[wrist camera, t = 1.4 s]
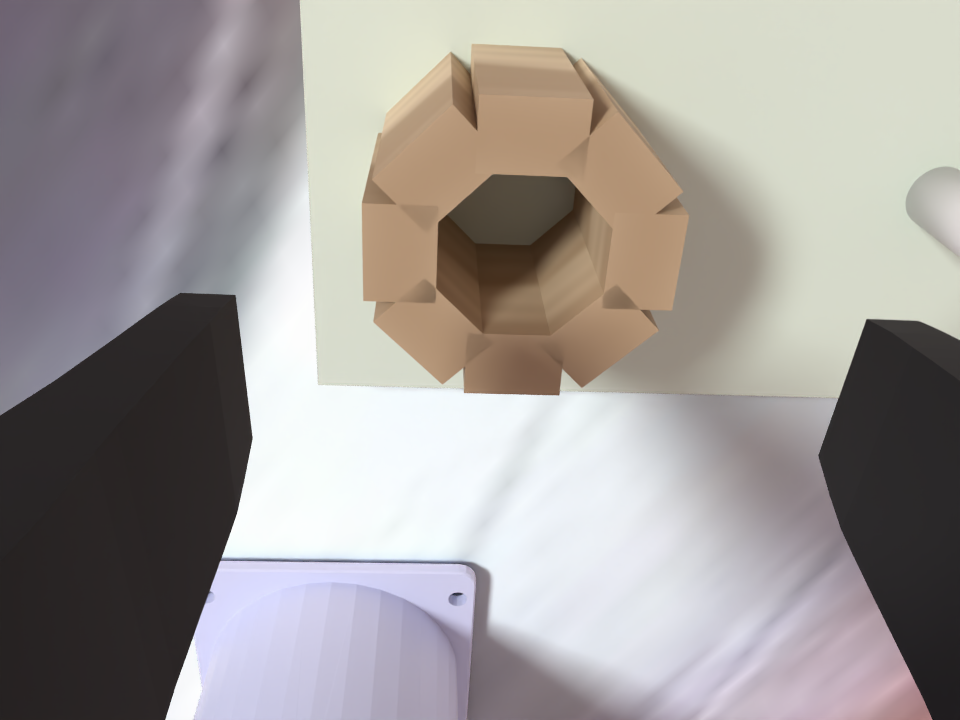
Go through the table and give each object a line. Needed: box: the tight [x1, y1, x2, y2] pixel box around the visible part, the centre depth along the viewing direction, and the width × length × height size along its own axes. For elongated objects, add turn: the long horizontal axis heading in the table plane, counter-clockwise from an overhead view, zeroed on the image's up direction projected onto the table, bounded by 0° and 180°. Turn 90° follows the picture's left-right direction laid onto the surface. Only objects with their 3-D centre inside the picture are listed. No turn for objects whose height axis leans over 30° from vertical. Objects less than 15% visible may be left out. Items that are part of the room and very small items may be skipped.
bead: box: [362, 44, 689, 395], centre depth 16 cm, size 5×5×4 cm
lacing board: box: [300, 0, 960, 398], centre depth 16 cm, size 10×17×6 cm, turn 87°
